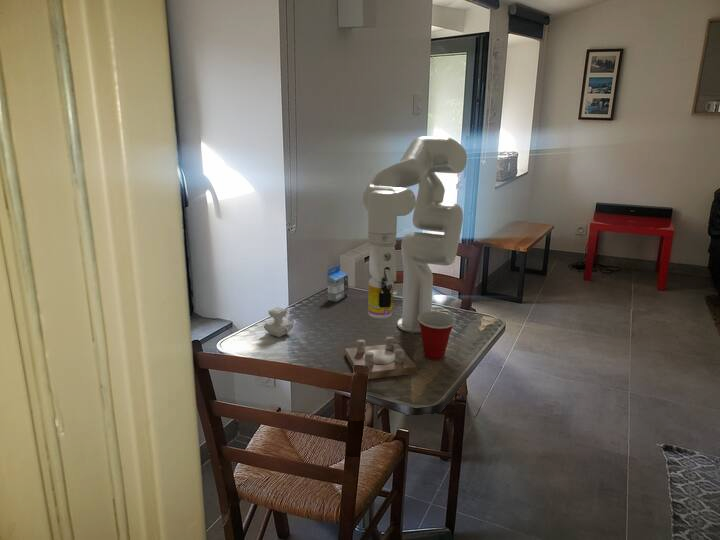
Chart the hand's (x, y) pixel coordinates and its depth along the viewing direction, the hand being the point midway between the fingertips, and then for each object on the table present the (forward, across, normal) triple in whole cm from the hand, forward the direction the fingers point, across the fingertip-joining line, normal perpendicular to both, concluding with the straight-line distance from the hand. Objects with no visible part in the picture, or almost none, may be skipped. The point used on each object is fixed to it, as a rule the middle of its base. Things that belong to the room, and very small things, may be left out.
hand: (380, 301), depth 146 cm
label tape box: (+18, +58, -1) cm, 61 cm away
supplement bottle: (+4, 0, 0) cm, 4 cm away
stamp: (+19, +28, +25) cm, 42 cm away
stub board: (+18, 0, 0) cm, 18 cm away
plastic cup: (+19, +1, -17) cm, 25 cm away
